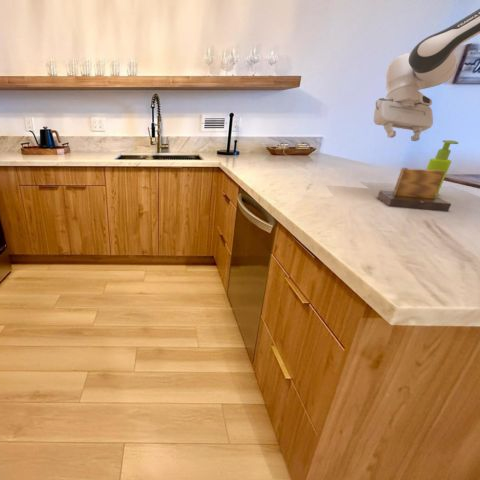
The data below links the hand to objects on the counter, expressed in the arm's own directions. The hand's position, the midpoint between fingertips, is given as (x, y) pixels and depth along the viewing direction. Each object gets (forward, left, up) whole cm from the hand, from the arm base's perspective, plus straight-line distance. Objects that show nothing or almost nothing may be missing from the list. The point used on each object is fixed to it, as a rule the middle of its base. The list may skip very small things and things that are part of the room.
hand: (403, 138), depth 99 cm
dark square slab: (-5, +8, -21) cm, 23 cm away
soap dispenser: (-17, -10, -21) cm, 29 cm away
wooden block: (-5, +8, -18) cm, 20 cm away
